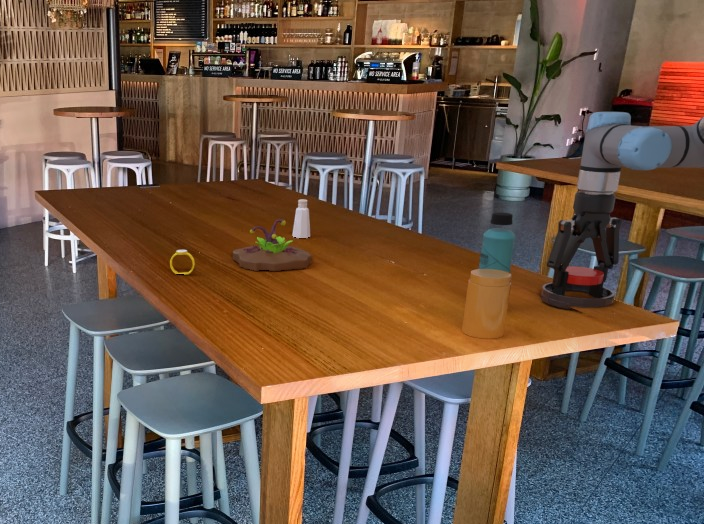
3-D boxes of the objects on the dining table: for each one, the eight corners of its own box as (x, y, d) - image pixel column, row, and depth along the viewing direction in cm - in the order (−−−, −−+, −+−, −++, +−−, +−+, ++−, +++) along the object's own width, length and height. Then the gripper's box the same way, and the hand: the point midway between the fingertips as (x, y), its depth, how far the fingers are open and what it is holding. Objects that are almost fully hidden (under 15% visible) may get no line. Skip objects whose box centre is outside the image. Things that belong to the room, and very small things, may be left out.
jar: (511, 336, 149) (521, 276, 145) (476, 340, 148) (485, 279, 143) (487, 325, 156) (496, 267, 152) (453, 328, 154) (461, 270, 150)
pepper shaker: (302, 234, 241) (304, 197, 237) (314, 237, 237) (316, 200, 233) (288, 236, 238) (290, 199, 234) (299, 239, 234) (301, 201, 230)
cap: (547, 276, 171) (549, 267, 171) (582, 273, 173) (583, 265, 173) (576, 286, 163) (577, 277, 163) (611, 283, 166) (613, 274, 165)
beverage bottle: (488, 302, 171) (501, 209, 164) (512, 310, 166) (527, 214, 158) (465, 306, 169) (478, 211, 161) (489, 314, 163) (503, 216, 156)
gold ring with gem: (195, 273, 196) (195, 249, 194) (193, 276, 193) (193, 252, 191) (171, 272, 197) (171, 249, 194) (169, 275, 194) (169, 251, 192)
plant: (320, 269, 199) (323, 225, 195) (244, 273, 196) (245, 227, 192) (298, 252, 217) (300, 211, 213) (228, 255, 214) (229, 213, 210)
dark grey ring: (627, 309, 166) (630, 296, 165) (569, 315, 162) (572, 301, 161) (580, 292, 178) (582, 279, 177) (526, 297, 175) (528, 284, 174)
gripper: (625, 187, 167) (605, 290, 176) (538, 191, 162) (522, 297, 171) (653, 192, 161) (630, 299, 169) (563, 196, 155) (545, 307, 164)
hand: (576, 298), depth 170 cm, fingers closed on cap, 9 cm apart
